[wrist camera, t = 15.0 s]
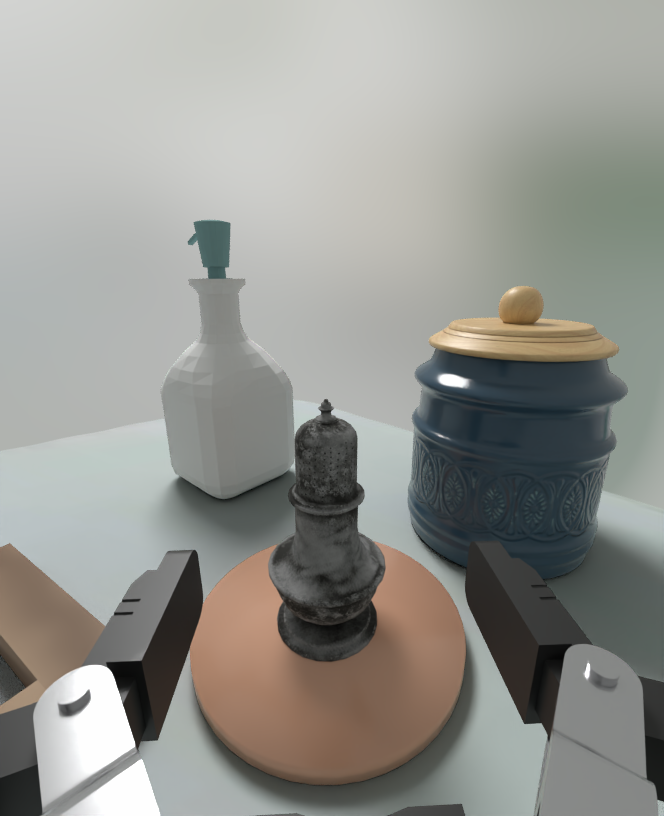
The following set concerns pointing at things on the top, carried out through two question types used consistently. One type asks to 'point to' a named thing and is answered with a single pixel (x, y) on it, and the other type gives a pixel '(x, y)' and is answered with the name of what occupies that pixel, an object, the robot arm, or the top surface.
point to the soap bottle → (226, 390)
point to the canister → (514, 436)
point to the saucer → (328, 677)
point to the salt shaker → (326, 548)
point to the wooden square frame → (39, 628)
